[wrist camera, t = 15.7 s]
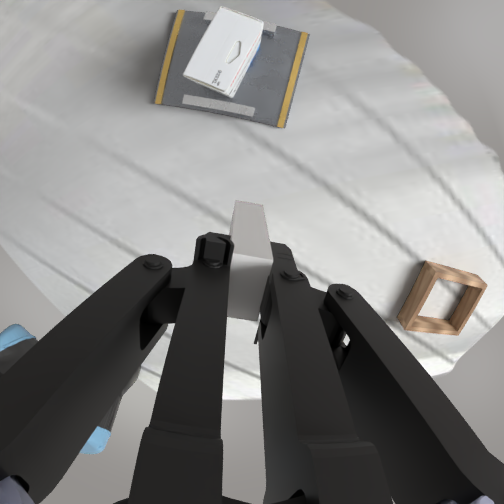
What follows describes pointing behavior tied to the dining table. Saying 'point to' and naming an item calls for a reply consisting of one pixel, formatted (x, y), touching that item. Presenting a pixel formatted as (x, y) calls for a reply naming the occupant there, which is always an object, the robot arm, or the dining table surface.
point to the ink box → (225, 51)
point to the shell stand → (424, 288)
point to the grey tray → (253, 83)
